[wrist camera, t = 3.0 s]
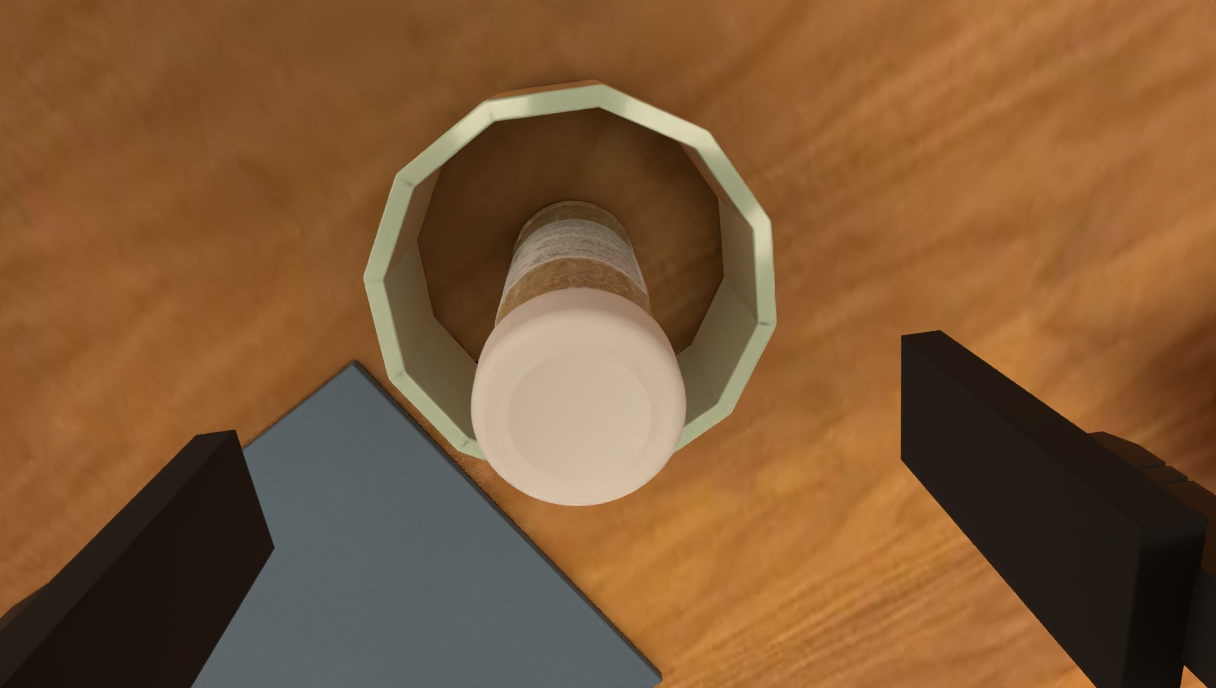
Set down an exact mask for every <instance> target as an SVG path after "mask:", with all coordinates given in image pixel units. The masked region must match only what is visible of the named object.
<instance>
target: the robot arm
mask: <svg viewBox="0 0 1216 688" xmlns="http://www.w3.org/2000/svg"><path fill="white" fill-rule="evenodd" d="M901 460H902V461H903V462H904V463H905V465H906V466H907V467H908V468H909V469H910V470H911V472H912V473H913V474H914V475H915V476H916V477H917V479H918V480H919V481H920V482H921V483H922V484H923V486H924V487H925V488H926V489H927V490H928V491H929V493H930V494H931V495H932V496H933V497H934V498H935V500H936V501H937V502H938V503H939V504H940V505H941V507H942V508H943V509H944V510H945V511H946V512H947V514H948V515H949V516H950V517H951V518H952V519H953V521H954V522H955V523H956V524H957V525H958V526H959V528H960V529H961V530H962V531H963V532H964V533H965V535H966V536H967V537H968V538H969V539H970V540H971V542H972V543H973V544H974V545H975V546H976V548H977V549H978V550H979V551H980V552H981V553H982V555H983V556H984V557H985V558H986V559H987V560H988V562H989V563H990V564H991V565H992V566H993V567H994V569H995V570H996V571H997V572H998V573H999V574H1000V576H1001V577H1002V578H1003V579H1004V580H1005V581H1006V583H1007V584H1008V585H1009V586H1010V587H1011V588H1012V590H1013V591H1014V592H1015V593H1016V594H1017V595H1018V597H1019V598H1020V599H1021V600H1022V601H1023V602H1024V604H1025V605H1026V606H1027V607H1028V608H1029V609H1030V611H1031V612H1032V613H1033V614H1034V615H1035V616H1036V618H1037V619H1038V620H1039V621H1040V622H1041V623H1042V625H1043V626H1044V627H1045V628H1046V629H1047V630H1048V632H1049V633H1050V634H1051V635H1052V636H1053V637H1054V639H1055V640H1056V641H1057V642H1058V643H1059V644H1060V646H1061V647H1062V648H1063V649H1064V650H1065V651H1066V653H1067V654H1068V655H1069V656H1070V657H1071V658H1072V660H1073V661H1074V662H1075V663H1076V664H1077V665H1078V667H1079V668H1080V669H1081V670H1082V671H1083V672H1084V674H1085V675H1086V676H1087V677H1088V678H1089V679H1090V681H1091V682H1092V683H1093V684H1094V685H1095V686H1096V688H1180V685H1181V679H1182V673H1183V667H1184V665H1185V666H1186V667H1187V668H1188V669H1189V670H1190V671H1191V672H1192V673H1193V674H1194V675H1195V676H1196V677H1197V678H1198V679H1199V680H1200V681H1201V682H1202V683H1203V684H1204V685H1205V686H1207V687H1208V688H1216V495H1214V494H1213V493H1211V492H1209V491H1208V490H1206V489H1205V488H1203V487H1202V486H1200V485H1199V484H1197V483H1196V482H1194V481H1188V479H1187V476H1185V475H1184V474H1182V473H1181V472H1179V471H1178V470H1176V469H1175V468H1173V467H1172V466H1166V464H1165V462H1164V461H1162V460H1161V459H1159V458H1158V457H1156V456H1155V455H1153V454H1152V453H1150V452H1149V451H1147V450H1146V449H1144V448H1143V447H1141V446H1140V445H1138V444H1135V443H1133V442H1130V441H1127V440H1124V439H1122V438H1119V437H1116V436H1114V435H1111V434H1108V433H1106V432H1103V431H1102V432H1095V433H1086V432H1084V431H1083V430H1082V429H1080V428H1079V427H1077V426H1076V425H1074V424H1073V423H1072V422H1070V421H1069V420H1067V419H1066V418H1064V417H1063V416H1062V415H1060V414H1059V413H1057V412H1056V411H1054V410H1053V409H1052V408H1050V407H1049V406H1047V405H1046V404H1045V403H1043V402H1042V401H1040V400H1039V399H1037V398H1036V397H1035V396H1033V395H1032V394H1030V393H1029V392H1027V391H1026V390H1025V389H1023V388H1022V387H1020V386H1019V385H1017V384H1016V383H1015V382H1013V381H1012V380H1010V379H1009V378H1007V377H1006V376H1005V375H1003V374H1002V373H1000V372H999V371H998V370H996V369H995V368H993V367H992V366H990V365H989V364H988V363H986V362H985V361H983V360H982V359H980V358H979V357H978V356H976V355H975V354H973V353H972V352H970V351H969V350H968V349H966V348H965V347H963V346H962V345H961V344H959V343H958V342H956V341H955V340H953V339H952V338H951V337H949V336H948V335H946V334H945V333H943V332H942V331H941V330H937V331H930V332H923V333H916V334H909V335H902V336H901ZM274 549H275V547H274V544H273V541H272V538H271V535H270V532H269V529H268V526H267V523H266V520H265V517H264V514H263V511H262V508H261V505H260V502H259V499H258V496H257V493H256V490H255V487H254V484H253V481H252V478H251V475H250V472H249V469H248V466H247V463H246V460H245V457H244V454H243V451H242V448H241V445H240V442H239V439H238V436H237V433H236V430H229V431H221V432H214V433H207V434H200V435H196V436H195V437H194V438H193V439H192V440H191V441H190V442H189V443H188V444H187V445H186V446H185V447H184V448H183V449H182V450H181V451H180V452H179V453H178V454H177V455H176V456H175V457H174V458H173V459H172V460H171V461H170V462H169V463H168V464H167V465H166V466H165V467H164V468H163V469H162V470H161V471H160V472H159V473H158V474H157V475H156V476H155V477H154V478H153V479H152V480H151V481H150V482H149V483H148V484H147V485H146V486H145V487H144V488H143V489H142V490H141V491H140V492H139V493H138V494H137V495H136V496H135V497H134V498H133V499H132V500H131V501H130V502H129V503H128V504H127V505H126V506H125V507H124V508H123V509H122V510H121V511H120V512H119V513H118V514H117V515H116V516H115V517H114V518H113V519H112V520H111V521H110V522H109V523H108V524H107V525H106V526H105V527H104V528H103V529H102V530H101V531H100V532H99V533H98V534H97V535H96V536H95V537H94V538H93V539H92V540H91V541H90V542H89V543H88V544H87V545H86V546H85V547H84V548H83V549H82V550H81V551H80V552H79V553H78V554H77V555H76V556H75V557H74V558H73V559H72V560H71V561H70V562H69V563H68V564H67V565H66V566H65V567H64V568H63V569H62V570H61V571H60V572H59V573H58V574H57V575H56V576H55V577H54V578H53V579H52V580H51V581H50V582H49V583H48V584H46V585H44V586H43V587H41V588H40V589H38V590H37V591H35V592H34V593H32V594H31V595H29V596H28V597H26V598H25V599H23V600H22V601H20V602H19V603H17V604H16V605H14V606H13V607H12V608H11V609H10V610H9V611H8V612H6V613H5V614H4V615H3V616H2V617H1V618H0V688H191V687H192V685H193V684H194V682H195V680H196V679H197V677H198V675H199V674H200V672H201V670H202V669H203V667H204V665H205V664H206V662H207V660H208V659H209V657H210V655H211V654H212V652H213V650H214V649H215V647H216V645H217V644H218V642H219V640H220V639H221V637H222V635H223V634H224V632H225V630H226V629H227V627H228V625H229V624H230V622H231V620H232V619H233V617H234V615H235V614H236V612H237V610H238V609H239V607H240V605H241V604H242V602H243V600H244V599H245V597H246V595H247V594H248V592H249V590H250V589H251V587H252V585H253V584H254V582H255V580H256V579H257V577H258V575H259V574H260V572H261V570H262V569H263V567H264V565H265V564H266V562H267V560H268V559H269V557H270V555H271V554H272V552H273V550H274Z"/></svg>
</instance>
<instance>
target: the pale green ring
mask: <svg viewBox="0 0 1216 688" xmlns="http://www.w3.org/2000/svg"><path fill="white" fill-rule="evenodd" d="M597 107H600V108H602V109H605V110H607V111H609V112H612V113H614V114H616V115H618V116H621V117H623V118H625V119H628V120H630V121H632V122H635V123H637V124H639V125H642V126H644V127H646V128H649V129H651V130H653V131H656V132H658V133H660V134H662V135H665V136H667V137H669V138H672V139H674V140H676V141H678V142H679V144H680V145H681V147H682V148H683V149H684V151H685V152H686V154H687V155H688V156H689V158H690V159H691V161H692V162H693V164H694V165H695V166H696V168H697V169H698V171H699V172H700V173H701V175H702V176H703V178H704V179H705V180H706V182H707V183H708V185H709V186H710V187H711V189H712V190H713V192H714V193H715V195H716V196H717V197H718V203H719V216H720V229H721V242H722V255H723V268H724V278H723V280H722V282H721V284H720V286H719V288H718V290H717V292H716V294H715V296H714V298H713V301H712V303H711V305H710V307H709V309H708V311H707V313H706V315H705V317H704V319H703V321H702V323H701V326H700V328H699V330H698V332H697V334H696V336H695V338H694V340H693V342H692V344H691V345H690V346H688V347H687V348H686V349H684V350H683V351H681V352H680V353H679V354H677V355H676V356H675V357H676V359H677V363H678V366H679V369H680V372H681V375H682V379H683V382H684V386H685V394H686V416H685V423H684V427H683V431H682V435H681V437H680V440H679V443H678V445H677V447H676V449H675V451H674V452H673V454H674V453H675V452H676V451H678V450H679V449H681V448H682V447H684V446H685V445H687V444H688V443H690V442H691V441H692V440H694V439H695V438H697V437H698V436H700V435H701V434H703V433H704V432H705V431H707V430H708V429H710V428H711V427H713V426H714V425H716V424H717V423H719V422H720V421H721V420H723V419H724V418H726V417H727V416H729V415H730V414H731V413H732V411H733V409H734V407H735V405H736V403H737V401H738V399H739V398H740V396H741V394H742V392H743V390H744V388H745V386H746V384H747V382H748V380H749V378H750V376H751V374H752V372H753V370H754V368H755V366H756V364H757V363H758V361H759V359H760V357H761V355H762V353H763V351H764V349H765V347H766V345H767V343H768V341H769V339H770V337H771V335H772V333H773V331H774V329H775V327H776V324H777V314H776V295H775V277H774V258H773V239H772V223H771V220H770V218H769V217H768V215H767V214H766V212H765V211H764V209H763V208H762V207H761V205H760V204H759V202H758V201H757V199H756V198H755V196H754V195H753V193H752V192H751V191H750V189H749V188H748V186H747V185H746V183H745V182H744V180H743V179H742V178H741V176H740V175H739V173H738V172H737V170H736V169H735V167H734V166H733V164H732V163H731V162H730V160H729V159H728V157H727V156H726V154H725V153H724V151H723V150H722V149H721V147H720V146H719V144H718V143H717V141H716V140H715V138H714V137H713V135H712V134H711V133H710V132H709V131H708V130H707V129H705V128H703V127H701V126H699V125H697V124H695V123H693V122H691V121H689V120H687V119H685V118H683V117H681V116H679V115H677V114H674V113H672V112H670V111H668V110H665V109H663V108H661V107H658V106H656V105H654V104H652V103H649V102H647V101H645V100H643V99H640V98H638V97H636V96H633V95H631V94H629V93H627V92H624V91H622V90H620V89H617V88H615V87H613V86H611V85H608V84H606V83H604V82H602V81H599V80H597V79H590V80H583V81H576V82H568V83H561V84H554V85H547V86H539V87H532V88H525V89H518V90H511V91H503V92H500V93H498V94H496V95H494V96H492V97H490V98H489V99H487V100H485V101H483V102H482V103H480V104H479V105H478V106H477V107H476V108H474V109H473V110H472V111H471V112H470V113H468V114H467V115H466V116H465V117H464V118H462V119H461V120H460V121H459V122H458V123H456V124H455V125H454V126H453V127H452V128H451V129H449V130H448V131H447V132H446V133H445V134H443V135H442V136H441V137H440V138H439V139H437V140H436V141H435V142H434V143H433V144H431V145H430V146H429V147H428V148H427V149H425V150H424V151H423V152H422V153H421V154H419V155H418V156H417V157H416V158H415V159H413V160H412V161H411V162H410V163H409V164H407V165H406V166H405V167H404V168H403V169H401V170H400V171H399V172H398V173H397V175H396V176H395V178H394V181H393V185H392V188H391V191H390V194H389V197H388V200H387V203H386V207H385V210H384V213H383V216H382V219H381V222H380V225H379V228H378V232H377V235H376V238H375V241H374V244H373V247H372V250H371V254H370V257H369V260H368V263H367V266H366V269H365V272H364V276H363V281H364V285H365V289H366V293H367V297H368V301H369V305H370V309H371V313H372V317H373V321H374V325H375V328H376V332H377V336H378V340H379V344H380V348H381V352H382V356H383V360H384V364H385V368H386V372H387V376H388V378H389V380H390V381H391V382H392V383H393V384H394V385H395V386H396V387H397V388H398V389H399V391H400V392H401V393H402V394H403V395H404V396H405V397H406V398H407V399H408V400H409V401H410V402H411V403H412V404H413V405H414V406H415V407H416V408H417V409H418V410H419V411H420V412H421V413H422V414H423V415H424V416H425V417H426V418H427V420H428V421H429V422H430V423H431V424H432V425H433V426H434V427H435V428H436V429H437V430H438V431H439V432H440V433H441V434H442V435H443V436H444V437H445V438H446V439H447V440H448V441H449V442H450V443H451V444H452V445H453V446H454V447H455V448H456V450H457V451H459V452H461V453H464V454H467V455H470V456H473V457H476V458H479V459H482V460H485V461H488V460H487V459H486V458H485V456H484V454H483V453H482V451H481V449H480V447H479V445H478V442H477V439H476V436H475V433H474V430H473V425H472V420H471V397H472V390H473V384H474V379H475V374H476V369H477V366H478V364H477V363H476V362H475V361H474V360H473V359H472V358H471V357H470V356H469V355H468V353H467V352H466V351H465V350H464V349H463V348H462V347H461V346H460V345H459V344H458V342H457V341H456V340H455V339H454V338H453V337H452V336H451V335H450V334H449V333H448V331H447V330H446V329H445V328H444V327H443V326H442V325H441V324H440V323H439V322H438V320H437V319H436V318H435V317H434V314H433V310H432V305H431V301H430V296H429V292H428V287H427V283H426V278H425V274H424V269H423V265H422V260H421V256H420V251H419V247H418V242H417V239H418V236H419V233H420V230H421V227H422V224H423V221H424V218H425V215H426V212H427V209H428V206H429V203H430V200H431V197H432V194H433V191H434V188H435V185H436V182H437V179H438V176H439V173H440V170H441V167H442V165H443V164H444V163H445V162H446V161H447V160H449V159H450V158H451V157H452V156H453V155H455V154H456V153H457V152H458V151H459V150H461V149H462V148H463V147H464V146H466V145H467V144H468V143H469V142H470V141H472V140H473V139H474V138H475V137H476V136H478V135H479V134H480V133H481V132H483V131H484V130H485V129H486V128H487V127H489V126H490V125H491V124H492V123H493V122H496V121H504V120H511V119H518V118H525V117H532V116H540V115H547V114H554V113H561V112H569V111H576V110H583V109H590V108H597Z"/></svg>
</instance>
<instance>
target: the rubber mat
mask: <svg viewBox="0 0 1216 688" xmlns="http://www.w3.org/2000/svg"><path fill="white" fill-rule="evenodd" d="M242 451H243V454H244V457H245V460H246V463H247V466H248V469H249V472H250V475H251V478H252V481H253V484H254V487H255V490H256V493H257V496H258V499H259V502H260V505H261V508H262V511H263V514H264V517H265V520H266V523H267V526H268V529H269V532H270V535H271V538H272V541H273V544H274V547H275V549H274V550H273V552H272V554H271V555H270V557H269V559H268V560H267V562H266V564H265V565H264V567H263V569H262V570H261V572H260V574H259V575H258V577H257V579H256V580H255V582H254V584H253V585H252V587H251V589H250V590H249V592H248V594H247V595H246V597H245V599H244V600H243V602H242V604H241V605H240V607H239V609H238V610H237V612H236V614H235V615H234V617H233V619H232V620H231V622H230V624H229V625H228V627H227V629H226V630H225V632H224V634H223V635H222V637H221V639H220V640H219V642H218V644H217V645H216V647H215V649H214V650H213V652H212V654H211V655H210V657H209V659H208V660H207V662H206V664H205V665H204V667H203V669H202V670H201V672H200V674H199V675H198V677H197V679H196V680H195V682H194V684H193V685H192V687H191V688H653V687H655V686H656V685H658V684H659V683H661V682H662V675H661V673H660V672H659V671H658V670H657V669H656V668H655V667H654V666H653V665H652V664H651V663H650V662H649V661H648V660H647V659H646V658H645V657H644V656H643V655H642V654H641V653H640V652H639V651H638V649H637V648H636V647H635V646H634V645H633V644H632V643H631V642H630V641H629V640H628V639H627V638H626V637H625V636H624V635H623V634H622V633H621V632H620V631H619V630H618V629H617V628H616V627H615V626H614V625H613V624H612V623H611V622H610V621H609V620H608V619H607V618H606V617H605V616H604V615H603V614H602V613H601V612H600V610H599V609H598V608H597V607H596V606H595V605H594V604H593V603H592V602H591V601H590V600H589V599H588V598H587V597H586V596H585V595H584V594H583V593H582V592H581V591H580V590H579V589H578V588H577V587H576V586H575V585H574V584H573V583H572V582H571V581H570V580H569V579H568V578H567V577H566V576H565V575H564V574H563V573H562V571H561V570H560V569H559V568H558V567H557V566H556V565H555V564H554V563H553V562H552V561H551V560H550V559H549V558H548V557H547V556H546V555H545V554H544V553H543V552H542V551H541V550H540V549H539V548H538V547H537V546H536V545H535V544H534V543H533V542H532V541H531V540H530V539H529V538H528V537H527V536H526V535H525V534H524V533H523V531H522V530H521V529H520V528H519V527H518V526H517V525H516V524H515V523H514V522H513V521H512V520H511V519H510V518H509V517H508V516H507V515H506V514H505V513H504V512H503V511H502V510H501V509H500V508H499V507H498V506H497V505H496V504H495V503H494V502H493V501H492V500H491V499H490V498H489V497H488V496H487V495H486V494H485V492H484V491H483V490H482V489H481V488H480V487H479V486H478V485H477V484H476V483H475V482H474V481H473V480H472V479H471V478H470V477H469V476H468V475H467V474H466V473H465V472H464V471H463V470H462V469H461V468H460V467H459V466H458V465H457V464H456V463H455V462H454V461H453V460H452V459H451V458H450V457H449V456H448V455H447V453H446V452H445V451H444V450H443V449H442V448H441V447H440V446H439V445H438V444H437V443H436V442H435V441H434V440H433V439H432V438H431V437H430V436H429V435H428V434H427V433H426V432H425V431H424V430H423V429H422V428H421V427H420V426H419V425H418V424H417V423H416V422H415V421H414V420H413V419H412V418H411V417H410V416H409V415H408V413H407V412H406V411H405V410H404V409H403V408H402V407H401V406H400V405H399V404H398V403H397V402H396V401H395V400H394V399H393V398H392V397H391V396H390V395H389V394H388V393H387V392H386V391H385V390H384V389H383V388H382V387H381V386H380V385H379V384H378V383H377V382H376V381H375V380H374V379H373V378H372V377H371V376H370V374H369V373H368V372H367V371H366V370H365V369H364V368H363V367H362V366H361V365H360V364H359V363H358V362H357V361H354V362H353V363H351V364H350V365H349V366H348V367H346V368H345V369H344V370H343V371H341V372H340V373H339V374H337V375H336V376H335V377H334V378H332V379H331V380H330V381H329V382H327V383H326V384H325V385H323V386H322V387H321V388H320V389H318V390H317V391H316V392H315V393H313V394H312V395H311V396H309V397H308V398H307V399H306V400H304V401H303V402H302V403H301V404H299V405H298V406H297V407H296V408H294V409H293V410H292V411H290V412H289V413H288V414H287V415H285V416H284V417H283V418H282V419H280V420H279V421H278V422H276V423H275V424H274V425H273V426H271V427H270V428H269V429H268V430H266V431H265V432H264V433H262V434H261V435H260V436H259V437H257V438H256V439H255V440H254V441H252V442H251V443H250V444H248V445H247V446H246V447H245V448H243V449H242Z"/></svg>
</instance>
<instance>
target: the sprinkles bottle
mask: <svg viewBox="0 0 1216 688" xmlns="http://www.w3.org/2000/svg"><path fill="white" fill-rule="evenodd" d="M685 416H686V394H685V386H684V382H683V379H682V375H681V372H680V369H679V366H678V363H677V359H676V357H675V354H674V351H673V349H672V346H671V344H670V342H669V340H668V338H667V336H666V334H665V333H664V331H663V330H662V328H661V327H660V325H659V324H658V323H657V322H656V321H655V318H654V316H653V313H652V310H651V306H650V303H649V296H648V292H647V288H646V285H645V282H644V279H643V276H642V274H641V271H640V268H639V265H638V263H637V260H636V258H635V254H634V250H633V246H632V242H631V239H630V237H629V235H628V233H627V231H626V230H625V228H624V227H623V225H622V224H621V223H620V222H619V221H618V220H617V219H616V218H615V217H614V216H613V214H611V213H610V212H609V211H607V210H605V209H603V208H600V207H599V206H597V205H595V204H592V203H588V202H584V201H561V202H559V203H555V204H552V205H549V206H547V207H545V208H543V209H541V210H540V211H538V212H537V213H536V214H534V215H533V216H532V217H531V218H530V219H529V220H528V221H527V222H526V223H525V224H524V226H523V227H522V229H521V231H520V234H519V235H518V237H517V239H516V243H515V246H514V248H513V255H512V262H511V265H510V268H509V272H508V275H507V279H506V282H505V286H504V290H503V295H502V298H501V302H500V305H499V309H498V312H497V316H496V321H495V329H494V330H493V331H492V333H491V334H490V336H489V338H488V339H487V341H486V343H485V345H484V348H483V350H482V353H481V355H480V359H479V362H478V366H477V369H476V374H475V379H474V384H473V390H472V397H471V420H472V425H473V430H474V433H475V436H476V439H477V442H478V445H479V447H480V449H481V451H482V453H483V454H484V456H485V458H486V459H487V460H488V462H489V463H490V465H491V466H492V467H493V468H494V470H495V471H496V472H497V473H498V474H499V475H500V476H501V477H502V478H503V479H504V480H506V481H507V482H508V483H509V484H511V485H512V486H513V487H515V488H516V489H518V490H520V491H522V492H524V493H525V494H527V495H529V496H532V497H534V498H537V499H539V500H542V501H546V502H549V503H554V504H559V505H568V506H588V505H596V504H601V503H606V502H609V501H613V500H616V499H618V498H621V497H623V496H625V495H628V494H630V493H632V492H633V491H635V490H637V489H639V488H640V487H642V486H643V485H644V484H646V483H647V482H648V481H650V480H651V479H652V478H653V477H654V476H655V475H656V474H657V473H658V472H659V471H660V470H661V469H662V468H663V467H664V466H665V465H666V463H667V462H668V460H669V459H670V457H671V455H672V454H673V452H674V451H675V449H676V447H677V445H678V443H679V440H680V437H681V435H682V431H683V427H684V423H685Z"/></svg>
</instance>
